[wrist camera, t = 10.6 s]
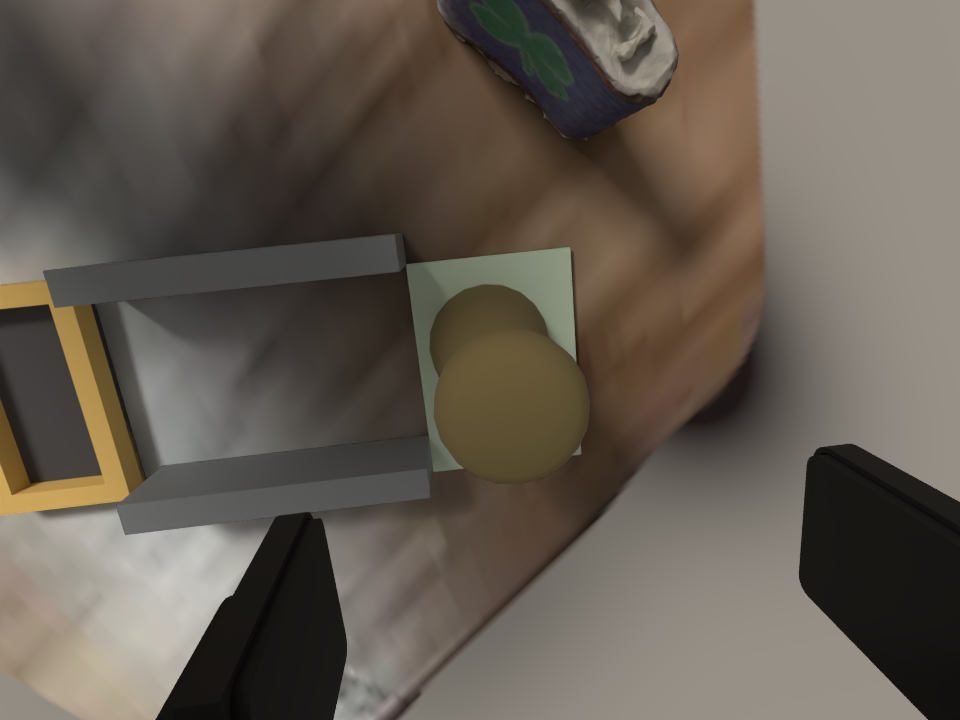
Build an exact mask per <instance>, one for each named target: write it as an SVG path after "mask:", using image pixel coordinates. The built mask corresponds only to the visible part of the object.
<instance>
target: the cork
mask: <svg viewBox="0 0 960 720" xmlns="http://www.w3.org/2000/svg"><path fill="white" fill-rule="evenodd" d="M429 351H430V354H431V358H432V361H433V364H434V368H435V370H436V372H437V374H438V377H439V380H438V383H437V385H436V388H435V398H434V420H435V424H436V427H437V430H438V433H439V437H440V440H441V441H442V443H443V444H444V446H445V447H446V448H447V450H448V451H449V453H450V454H451V455H452V457H453V458H454V459H455V461H456V462H457V463H458V464H459V465H460V466H462V467H463V468H465V469H466V470H467V471H469V472H470V473H472V474H473V475H474V476H476V477H479V478H482V479H485V480H488V481H491V482H494V483H502V484H522V483H526V482H529V481H533V480H537V479H541V478H543V477H545V476H547V475H548V474H550V473H552V472H553V471H555V470H557V469H558V468H560V467H562V466H563V465H564V464H565V463H566V462H567V461H568V459H569V458H570V457H571V456H572V455H573V454H574V453H575V452H576V451H577V450H578V448H579V446H580V444H581V442H582V439H583V437H584V435H585V433H586V431H587V429H588V421H589V413H590V398H589V393H588V389H587V384H586V379H585V376H584V375H583V373H582V371H581V370H580V368H579V366H578V365H577V363H576V362H575V360H574V358H573V357H572V356H571V355H570V354H569V353H568V352H567V351H566V350H564V349H563V348H562V347H561V346H559V345H558V344H557V343H556V342H555V341H553V340H552V339H551V338H549V335H548V331H547V328H546V324H545V320H544V318H543V317H542V315H541V313H540V312H539V310H538V308H537V307H536V305H535V304H534V303H533V302H532V301H531V300H529V299H528V298H527V297H526V296H525V295H523V294H522V293H521V292H519V291H517V290H514V289H511V288H509V287H506V286H504V285H491V284H482V285H478V286H474V287H471V288H467V289H464V290H463V291H461V292H460V293H458V294H457V295H455V296H453V297H452V298H450V299H449V300H448V301H447V302H446V304H445V305H444V306H443V307H442V308H441V310H440V311H439V312H438V313H437V315H436V318H435V320H434V323H433V326H432V328H431V331H430V348H429Z"/></svg>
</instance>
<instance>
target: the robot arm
mask: <svg viewBox="0 0 960 720" xmlns="http://www.w3.org/2000/svg"><path fill="white" fill-rule="evenodd" d="M801 539H802V540H801V553H800V566H799V579H800V583H801V586H802V588H803V590H804V591H805V593H806V594H807V596H808V597H809V598H810V599H811V600H812V601H813V602H814V603H815V604H816V605H817V606H818V607H819V608H820V609H821V610H822V611H823V612H824V613H825V614H826V615H827V616H828V617H829V618H830V619H831V620H832V621H833V622H834V623H835V624H836V626H837V627H838V628H839V629H840V630H841V631H842V632H843V633H844V634H845V635H846V636H847V637H848V638H849V639H850V640H851V641H852V642H853V643H854V644H855V645H856V646H857V647H858V648H859V649H860V650H861V651H862V652H863V653H864V654H865V655H866V656H867V657H868V658H869V659H870V661H871V662H872V663H873V664H874V665H875V666H876V667H877V668H878V669H879V670H880V671H881V672H882V673H883V674H884V675H885V676H886V677H887V678H888V679H889V680H890V681H891V682H892V683H893V684H894V685H895V686H896V687H897V688H898V689H899V690H900V691H901V692H902V693H903V695H904V696H905V697H907V699H909V701H910V702H911V703H912V704H913V705H914V706H915V707H916V708H917V709H918V710H919V711H920V712H921V713H922V714H923V715H924V716H925V717H926V718H927V719H928V720H960V502H959V501H957V500H955V499H953V498H951V497H950V496H948V495H946V494H944V493H942V492H940V491H939V490H937V489H935V488H933V487H931V486H929V485H928V484H926V483H924V482H922V481H920V480H918V479H917V478H915V477H913V476H911V475H909V474H908V473H906V472H904V471H902V470H900V469H898V468H897V467H895V466H893V465H891V464H889V463H887V462H886V461H884V460H882V459H880V458H878V457H876V456H875V455H872V454H871V453H869V452H867V451H866V450H864V449H862V448H860V447H858V446H856V445H853V444H843V445H835V446H828V447H820V448H818V449H817V450H816V452H815V453H814V456H812V457H810V458H809V460H808V462H807V471H806V486H805V498H804V511H803V525H802V538H801ZM346 656H347V639H346V633H345V628H344V623H343V618H342V613H341V608H340V603H339V598H338V593H337V588H336V583H335V578H334V574H333V569H332V564H331V559H330V554H329V549H328V544H327V539H326V534H325V529H324V525H323V522H322V519H320V518H318V519H313V517H312V515H311V513H309V512H303V513H295V514H287V515H279V516H277V517H276V518H275V519H274V521H273V523H272V525H271V527H270V528H269V530H268V532H267V534H266V536H265V538H264V539H263V541H262V543H261V545H260V547H259V549H258V550H257V552H256V554H255V556H254V558H253V560H252V561H251V563H250V565H249V567H248V569H247V571H246V572H245V574H244V576H243V578H242V580H241V582H240V583H239V585H238V587H237V589H236V591H235V592H234V594H233V596H229V597H228V598H226V599H225V600H224V601H223V602H222V604H221V605H220V607H219V608H218V610H217V612H216V614H215V615H214V617H213V619H212V621H211V623H210V624H209V626H208V628H207V630H206V631H205V633H204V635H203V637H202V638H201V640H200V642H199V644H198V645H197V647H196V649H195V651H194V653H193V654H192V656H191V658H190V660H189V661H188V663H187V665H186V667H185V668H184V670H183V672H182V674H181V676H180V677H179V679H178V681H177V683H176V684H175V686H174V688H173V690H172V691H171V693H170V695H169V697H168V699H167V700H166V702H165V704H164V706H163V707H162V709H161V711H160V713H159V714H158V716H157V718H156V720H333V719H334V714H335V709H336V704H337V700H338V695H339V690H340V686H341V681H342V676H343V671H344V667H345V662H346Z"/></svg>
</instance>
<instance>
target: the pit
mask: <svg viewBox="0 0 960 720" xmlns="http://www.w3.org/2000/svg"><path fill="white" fill-rule="evenodd" d="M145 480H146V478H145V475H144V471H143V468H142V464H141V461H140V457H139V454H138V450H137V447H136V444H135V440H134V437H133V433H132V430H131V426H130V423H129V419H128V416H127V413H126V409H125V406H124V402H123V399H122V395H121V392H120V388H119V385H118V382H117V378H116V375H115V371H114V368H113V364H112V361H111V357H110V354H109V351H108V347H107V344H106V340H105V337H104V333H103V330H102V327H101V323H100V320H99V316H98V313H97V309H96V306H95V304H89V305H79V306H70V307H60V308H54V305H53V302H52V298H51V295H50V292H49V289H48V286H47V282H46V280H44V281H34V282H25V283H15V284H6V285H0V515H8V514H17V513H25V512H34V511H42V510H51V509H59V508H67V507H76V506H84V505H93V504H101V503H109V502H118V501H122V500H123V499H124V498H125V497H127V496H128V495H129V494H130V493H131V492H132V491H134V490H135V489H136V488H137V487H138V486H139V485H141V484H142V483H143V482H144V481H145Z"/></svg>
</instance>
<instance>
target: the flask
mask: <svg viewBox="0 0 960 720" xmlns="http://www.w3.org/2000/svg"><path fill="white" fill-rule="evenodd" d="M437 6H438V10H439V13H440V15H441V16H442V17H443V19H444V21H445V22H446V23H447V24H448V26H449V27H450V28H451V29H452V30H453V31H454V33H455V34H456V36H457V38H459V39H461V41H462V42H465V41H468V43H470V44H472V45H473V46H474V47H475V48H476V49H477V50H478V51H479V52H480V53H482V55H483V57H484V58H486V60H487V64H488V65H489V66H490V67H492V68H493V69H494V70H495V74H496V75H500V76H501V77H502V78H503V79H504V81H509V83H510V82H512V83H513V84H516V85H518V86H519V85H520V87H521V88H522V89H523V91H524V92H525V100H529V101H532V102H534V103H536V104H537V105H538V106H539V107H540V108H541V110H542V112H543V114H544V119H545V118H547V120H549V122H550V123H551V124H552V125H553V127H554V128H555V129H557V130H558V131H559V132H560V134H561V135H562V136H563V137H564V138H569V139H576V140H577V139H584V140H586V141H587V139H588V137H589V136H591V135H595V134H597V133H599V132H601V131H602V130H604V129H606V128H608V127H610V126H613V125H614V124H615V123H616V122H618V121H620V120H621V119H623V118H627V117H628V116H629V115H631V114H634V113H636V112H638V111H640V110H641V109H643V108H644V107H646V106H650V105H651V104H654V103H655V102H656V101H657V99H658V98H660V97H661V96H662V95H663V93H664V91H665V90H666V88H667V87H668V85H669V84H670V81H671V78H672V75H673V73H674V71H675V70H676V68H677V62H678V56H679V54H678V50H677V46H676V42H675V38H674V36H673V34H672V32H671V31H670V29H669V27H668V26H667V24H666V22H665V21H664V19H663V18H662V16H661V15H660V13H659V12H658V10H657V8H656V6H655V4H654V2H653V1H652V0H437Z"/></svg>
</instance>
